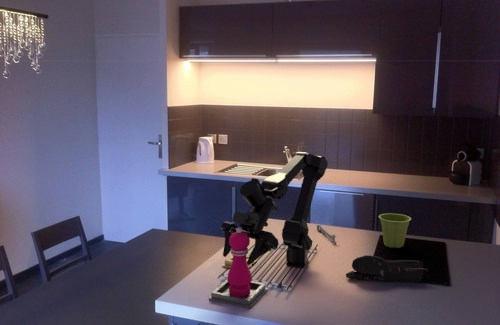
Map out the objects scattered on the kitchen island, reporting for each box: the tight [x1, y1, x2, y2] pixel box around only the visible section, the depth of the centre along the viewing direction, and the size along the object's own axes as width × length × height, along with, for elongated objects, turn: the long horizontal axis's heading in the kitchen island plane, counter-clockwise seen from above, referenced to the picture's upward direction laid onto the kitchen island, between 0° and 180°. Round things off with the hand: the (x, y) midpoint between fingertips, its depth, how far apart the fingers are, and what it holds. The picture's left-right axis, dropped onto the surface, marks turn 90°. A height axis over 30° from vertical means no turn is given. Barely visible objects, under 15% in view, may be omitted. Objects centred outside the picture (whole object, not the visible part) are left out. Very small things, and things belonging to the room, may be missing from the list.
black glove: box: [345, 254, 429, 283], centre depth 143 cm, size 7×25×8 cm, turn 93°
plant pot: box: [378, 213, 412, 249], centre depth 173 cm, size 12×12×11 cm
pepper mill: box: [226, 226, 253, 297], centre depth 131 cm, size 7×7×20 cm
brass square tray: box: [221, 255, 258, 269], centre depth 155 cm, size 9×9×2 cm
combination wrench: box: [316, 224, 337, 245], centre depth 184 cm, size 4×1×20 cm
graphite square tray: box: [208, 279, 269, 310], centre depth 132 cm, size 13×13×2 cm
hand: (235, 260), depth 130 cm, fingers open, 9 cm apart
